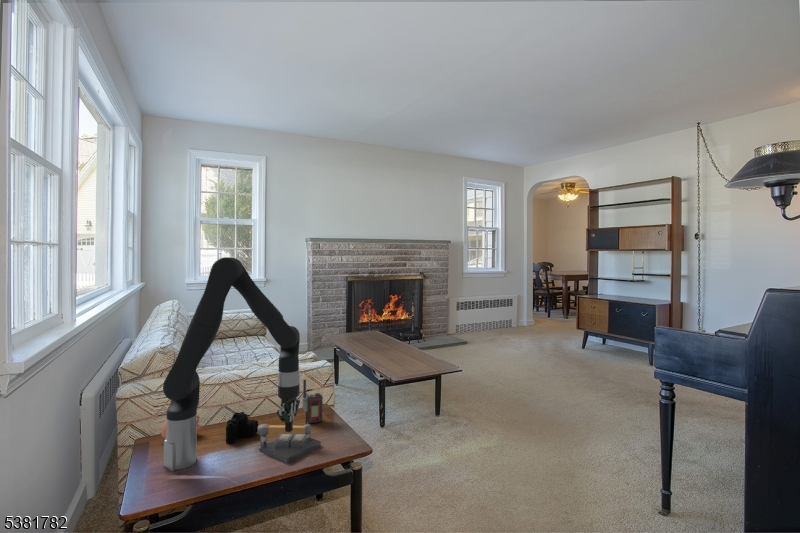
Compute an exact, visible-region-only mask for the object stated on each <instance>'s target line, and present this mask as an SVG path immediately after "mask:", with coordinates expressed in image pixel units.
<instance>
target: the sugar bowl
mask: <svg viewBox="0 0 800 533" xmlns="http://www.w3.org/2000/svg"><path fill="white" fill-rule="evenodd" d="M199 421H200V416H199V415H198V414H197V431H199V430H200V429H202V428H201V427H202V426H201V424H199ZM166 431H167V419H166V420H165V421H164V423H163V425H162V427H161V431H160V432H161V433H160V435H161V437H162V438H163V439H164V440H166Z"/></svg>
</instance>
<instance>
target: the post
mask: <svg viewBox="0 0 800 533" xmlns="http://www.w3.org/2000/svg"><path fill="white" fill-rule="evenodd" d="M259 437H260V438H259V439H260V440H259V442H260V444H259V445H257V450H260V446H262V445H265V444H267V443H268V434H267V435H259Z"/></svg>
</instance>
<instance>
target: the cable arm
mask: <svg viewBox="0 0 800 533" xmlns="http://www.w3.org/2000/svg"><path fill="white" fill-rule="evenodd" d="M311 427H312V425H311V423H310V424H309V423H307V424H306V423H305V424H304V425H294V424H293V430H292V431H291V432H286V431H285V424H284V425H283V424H282V425H280V424H279V425H273V424H269V423H262V424H258V431H257V435H258V436H260V435H267V436H268V435H280V434H306V435H308V436H309V435H310V434H311V432H312V430H311V429H312V428H311Z"/></svg>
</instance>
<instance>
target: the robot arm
mask: <svg viewBox="0 0 800 533" xmlns="http://www.w3.org/2000/svg"><path fill="white" fill-rule="evenodd" d="M232 287H233V288H234V289H235V290H236V291H237V292H238V293H239V294H240V295H241V296H242V297H243V299H244V300H245V302H246V303H247V305H248V308H250V310H251V312H252V313H253V315H254V316H255V317H256V318H257V319H258V321H260V322H261V324H263V326H264V327H265V328H266V329H267V330H268V332H269V334H270V335H271V337H272V338H273V339H274V341H275V342H276V343H277V345H278V346H280V349H279V350H280V353H279V357H278V374H277V397H278V398H279V399H280V410H279V409H278V410H276V414H277V416H278V418H279V420H280V421H281V422H284V425H285V431H286V432H291V431H292V430H293V425H294V419H295V417H296V416H297V414H298V410H299V407H300V404H301V400H299V399H298V398H297V397H299V396H300V394H301V390H300V385H301V384H300V382H301V381H300V378H301V377H300V365H299V364H300V361H299V360H300V358H299V350H300V343H301V342H300V341H301V340H300V331H299V329H298V328H297V327H295V326H292V325H289V324H288V322H286V321H285V319H284V316H283V314H282V313H281V311H280V310H279V309H278V308H277V307H276V306H275V305H274V304H273V302H272V301H271V300H269V298H268V297H267V296H266V294H264V292H262V290H261V289H260V288H259V287H258V286H257V285H256V282H254V280H253V279H252V277H251V275H250V274H249V273H248V271H247V269H246V267H244V264H243V263H242V262H241V260H239V259H238V258H235V257H231V256H230V257H229V256H228V257H227V256H224V257H223V256H222V257H220V258H218V259H217V260H215V261H214V263H212V266H211V269H210V271H209V274H208V279H207V281H206V286H205V289H204V291H203V294H202V296H201V298H200V299H199V302H198V305H197V306H196V309H195V311H194V313H193V316H192V317H191V321H190V323H189V324H188V328H187V330H186V332H185V335H184V337H183V341H182V342H181V345H180V348H179V351H178V354H177V356H176V359H175V361H174V363H172V366H171V368H170V370H169V372H168V373H167V375H166V377H165V379H164V382H163V383H162V384H163V385H162V391H163V394H164V396H165V398H167V399H168V400H171V401H170V403H169V405H168V408H167V409H166V420H167V431H166V439H164V440H163V467H165V468H166V469H168V470H169V471H171V472H174V471H176V470H183V469H186V468H189V467H191V466H193V465H194V464H195V463H196V462H197V440H198V439H197V438H198V437H197V436H198V435H197V431H198V430H197V428H198V426H197V415H198V414H197V413H198V407H199V402H200V388H201V387H200V386H201V381H200V380H201V379H200V375H199V373H198V372H197V369H198V366H199V364H200V362H201V361H202V359H203V357H205V355H206V353H207V352H208V351H209V349H210V347H211V346H212V344H213V342H215V341H214V340H215V338H216V336H217V334H218V331H219V329H220V327H221V324H222V322H223V321H222V320H223V314H224V307H225V302H226V300H227V296H228V295H229V292H230V290H231V288H232Z"/></svg>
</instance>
